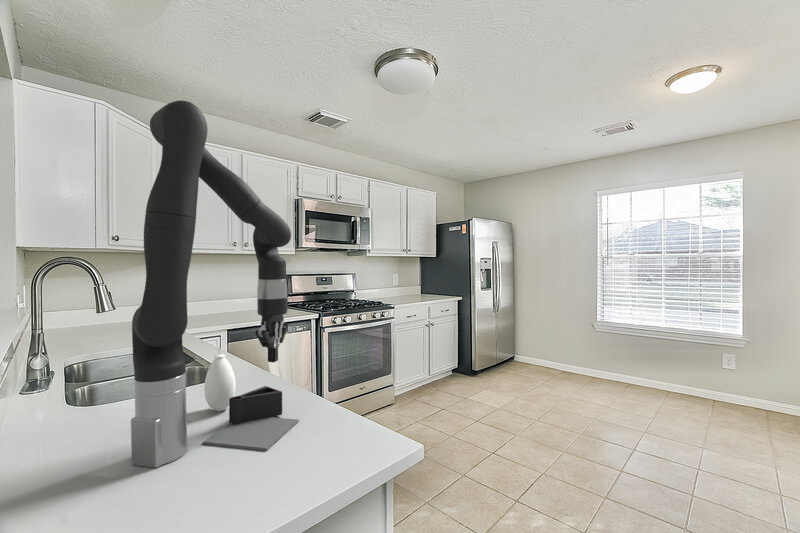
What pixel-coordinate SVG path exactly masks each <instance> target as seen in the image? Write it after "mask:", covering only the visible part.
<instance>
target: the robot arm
mask: <svg viewBox="0 0 800 533" xmlns="http://www.w3.org/2000/svg"><path fill="white" fill-rule="evenodd" d="M149 130H150V132H151V135H152V136H153V138H154V140H156V142H157V143H158V144H159V145H160V146H161V148H162V149H161V161H160V166H159V170H158V172H157V175H156V177H155V180H154V182H153V185H152V187H151V189H150V193H149V195H148V199H147V203H146V207H145V217H144V225H143V252H144V263H145V275H146V276H145V284H144V290H143V291H144V292H143V296H142V301H141V305H140V306H139V307H137V309H136V310H135V312H134V314H133V316H132V321H131V338H132V339H131V342H132V363H133V372H134V375H133V376H134V417H132V418H131V419H130V433H131V434H130V441H131V442H130V443H131V444H130V446H131V465H132V466H139V467H146V468H147V467H148V468H154V469H155V468H158V467H160V466H162V465H165V464H168V463H171V462H174V461H176V460H178V459H180V458H181V457H183V456H184V455H185V454H186V453H187V451H188V434H187V433H188V430H187V429H188V428H187V427H188V426H187V423H188V420H187V384H186V383H187V382H186V381H187V377H186V375H187V374H186V372H187V370H186V367H187V366H186V358H185V354H184V348H183V347H184V346H183V335H184V334H185V332H186V329H187V327H188V289H187V288H188V276H189V270H190V265H191V259H192V253H193V247H194V241H195V231H196V222H197V207H198V206H197V205H198V199H199V198H198V194H199V180H201V181H203V182H204V183H205V184H206V185H207V186H208V187H209V188H210V189H211V190H212V191H213V192H214V193H215V194H216V195H217V196H218V197H219V199H221V200H222V201H223V203H225V205H226V206H227V207H228V208H229V209H230V210H231V211H232V212H233V213H234V214H235V216H237V218H238V219H239V220H240V221H242V223H245V224H249V225H251V226H253V227H254V230H253V232H252V243H253V249H254V252H255V256H256V260H257V264H258V266H257V268H258V269H257V276H258V277H257V278H258V279H257V281H258V282H257V287H256V288H257V289H256V290H257V291H256V292H257V293H256V295H257V296H256V298H257V314H258V315H259V316H261V322H260V325H261V327H260V328H259V329H255V331H254V332H255V333H254V334H255V335H256V338H257V339H258V341H259V343H260V345H261V346H262V348H266V349H267V362H268V363H276V362H278V361H279V347H280V345H281V344H283V343H284V341H285V340H284V339H285V336H286V334H287V331H288V328H289V322H285V321H284V320H285V319H284V315H286V314H287V313H288V285H287V283H288V282H287V262H286V259H285V258H283V257H281V256H280V254H279V249H278V248H282V247H285V246H287V245H288V244H289V243H290V241H291V239H292V232H291V229H290V226H289V224H288V223H287V222H286V221H285V219H283V218H282V217H281V216H280V215H279V214H277V213H276V212H275V211H274V210H272V209H271V208H270V207H269V206H268V205H266V204H265V203H264V202H263V201H262V200H261V199H260V197H259V196H258V195H257V194H256V193H255V191H254V190H253V189H252V188H251V187H250V186H249V185H248V183H247V182H245V181H244V180H243V178H241V177H240V176H239V175H237V174H235V173H234V172H233V171H232V170H231V169H229V168H228V167H226V166H225V165H224V164H222V163H221V162H220V161H219V160H218V159H217V158H215V156H213V154H211V153H210V152H209V150H208V149H207V148H206V144H207V142H206V141H207V138H208V122H207V119H206V118H205V115H204V114H203V112H202V110H201V109H200V108H199V107H198V106H197V105H195V103H193V102H190V101H187V100H175V101H171V102H168V103H167V104H165V105H164V106H163V107H161V108H159V109H158V110H156V111H155V112H154V113H153V114H152V116H151V117H150V120H149Z"/></svg>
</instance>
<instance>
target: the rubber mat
mask: <svg viewBox="0 0 800 533" xmlns="http://www.w3.org/2000/svg"><path fill="white" fill-rule="evenodd" d="M298 423H300V419H297V418H296V419H295V418H283V417H275V416H272V417H267V418H261V419H255V420H250V421H244V422H241V423H238V424H231V423H229V424H227V425H225V426H224V427H223V428H220V429H219V430H218V431H216V432H215V433H214V434H212V435H210V436H209V437H207V438H206V439H204V440H202V445H206V446H207V445H208V446H214V447H215V446H216V447H217V446H219V447H227V448H236V449H244V450H245V449H247V450H255V451H256V450H257V451H264V452H268V450H270V449H271V448H272V447H273V446H275V444H276V443H278V441H279V440H281V439H282V438H283V437H284V436H285V435H286V434H287V433H288V432H289V431H290V430H292V428H294V427H295V426H296V425H298Z"/></svg>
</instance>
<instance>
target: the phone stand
mask: <svg viewBox="0 0 800 533" xmlns="http://www.w3.org/2000/svg"><path fill="white" fill-rule="evenodd" d="M228 408H229V410H228V412H229V415H228V416H229V417H228V419H229V420H228V422H229V424H230V423H231V424H238V423H241V422H244V421H250V420H255V419H261V418H267V417H277V416H282V415H283V391H282V390H278V389H275V388H273V387H270V386H267V385H264V386H261V387H259V388H256V389H252V390H251V391H248V392H246V393H242V394H240V395H235V396H234V397H231V398H230V399H229V406H228Z"/></svg>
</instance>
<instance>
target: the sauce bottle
mask: <svg viewBox="0 0 800 533" xmlns="http://www.w3.org/2000/svg"><path fill="white" fill-rule="evenodd" d="M221 351H222V350H221V346H220V345H219V346H218V354H216V355H215V356H214V359H213V360H212V362H211V363H210V365H209V367H208V369H207V372H206V376H205V381H204V388H203V389H204V398H205V401H206V403H207V404H208V406H209V408H210V409H212V410H213V411H215V412H220V413H221V412H223V411H225V410H227V409H228V408H229V399H230V398H231V397H236V391H237V390H236V387H237V386H236V385H237V384H236V377H235V373H234V370H233V368H232V365H231V364H230V362H229V361H228V359H227V358H226V355H225V354H221Z"/></svg>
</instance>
